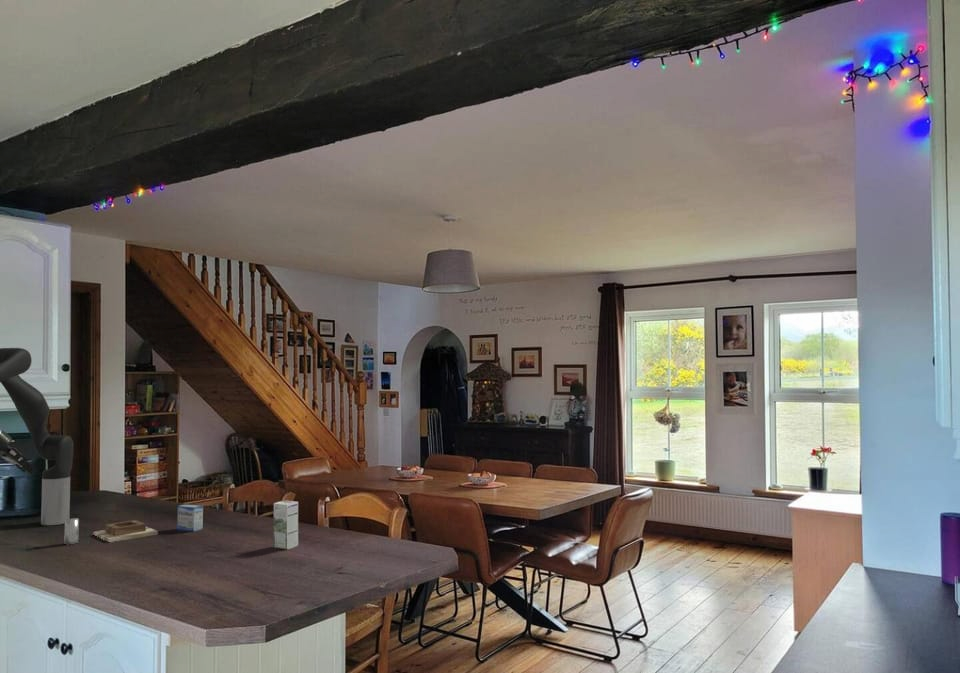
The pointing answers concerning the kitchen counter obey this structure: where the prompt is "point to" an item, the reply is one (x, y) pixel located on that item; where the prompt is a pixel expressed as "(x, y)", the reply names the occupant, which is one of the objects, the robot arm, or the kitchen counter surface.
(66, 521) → the grey cylinder
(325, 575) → the kitchen counter surface
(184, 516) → the medicine box
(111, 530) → the wooden socket base
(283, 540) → the syrup box
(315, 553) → the kitchen counter surface
